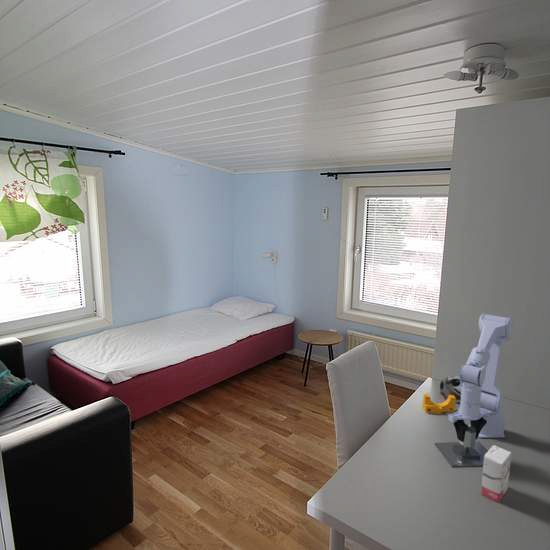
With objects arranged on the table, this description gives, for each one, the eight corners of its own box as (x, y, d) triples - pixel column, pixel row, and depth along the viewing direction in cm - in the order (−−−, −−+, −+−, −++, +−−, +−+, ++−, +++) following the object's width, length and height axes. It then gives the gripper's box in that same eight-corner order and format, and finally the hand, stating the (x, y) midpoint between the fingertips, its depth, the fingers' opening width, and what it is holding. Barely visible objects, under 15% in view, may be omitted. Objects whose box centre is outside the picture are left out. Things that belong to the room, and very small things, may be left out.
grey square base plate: (479, 443, 131) (480, 428, 130) (500, 465, 119) (502, 449, 118) (434, 444, 130) (435, 429, 129) (451, 466, 118) (452, 450, 118)
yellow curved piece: (425, 413, 152) (426, 398, 151) (422, 408, 156) (423, 393, 155) (456, 415, 150) (457, 400, 149) (452, 409, 155) (453, 395, 154)
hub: (467, 437, 127) (468, 424, 126) (478, 445, 122) (479, 431, 122) (455, 439, 126) (456, 426, 125) (466, 448, 121) (467, 434, 120)
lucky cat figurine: (476, 395, 166) (487, 376, 158) (469, 415, 159) (480, 396, 150) (442, 379, 173) (450, 359, 165) (434, 397, 165) (443, 378, 157)
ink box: (498, 503, 103) (502, 464, 101) (479, 493, 107) (482, 456, 105) (508, 488, 109) (512, 451, 107) (490, 479, 112) (493, 444, 111)
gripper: (479, 392, 127) (476, 429, 129) (443, 397, 124) (440, 435, 126) (495, 402, 121) (492, 440, 123) (458, 408, 117) (455, 447, 119)
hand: (467, 438), depth 124 cm, fingers closed on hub, 5 cm apart
